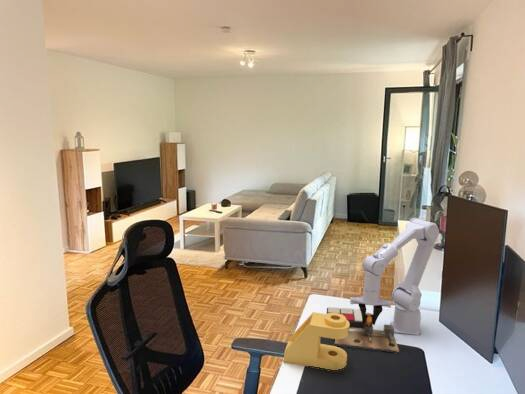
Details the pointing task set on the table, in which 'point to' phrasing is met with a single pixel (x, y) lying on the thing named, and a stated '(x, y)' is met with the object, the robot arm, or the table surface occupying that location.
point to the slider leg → (368, 325)
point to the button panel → (349, 315)
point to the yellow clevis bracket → (318, 342)
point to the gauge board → (378, 341)
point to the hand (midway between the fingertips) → (368, 323)
